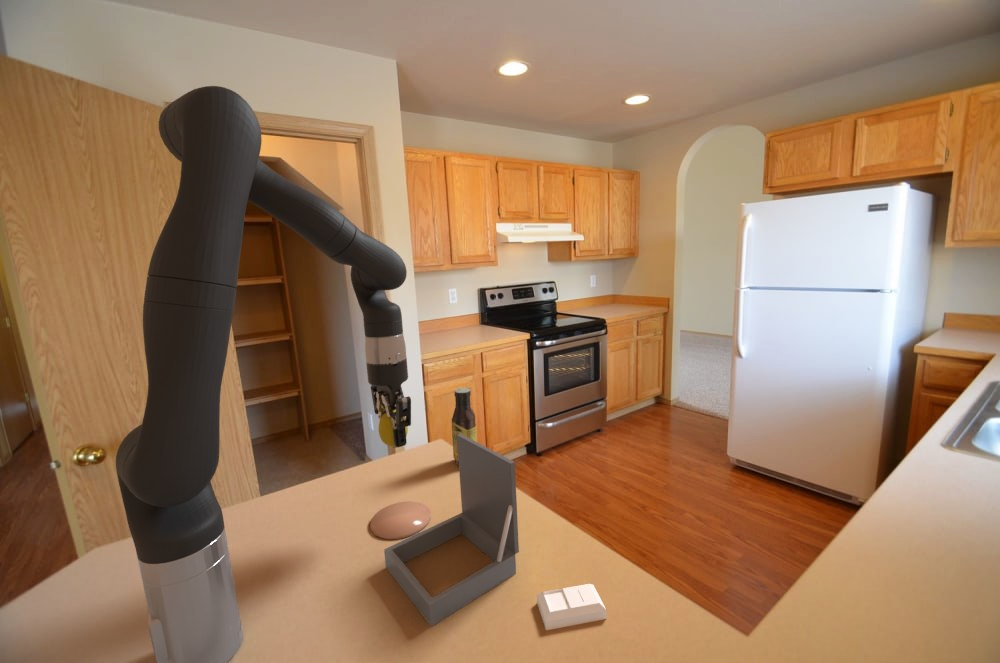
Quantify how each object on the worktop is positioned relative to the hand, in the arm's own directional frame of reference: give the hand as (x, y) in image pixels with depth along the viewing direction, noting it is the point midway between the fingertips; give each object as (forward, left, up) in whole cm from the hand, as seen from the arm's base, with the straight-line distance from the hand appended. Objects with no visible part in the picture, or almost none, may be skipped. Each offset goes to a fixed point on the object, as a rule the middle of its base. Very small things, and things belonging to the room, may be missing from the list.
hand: (394, 440), depth 84 cm
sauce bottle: (+24, +12, -18) cm, 32 cm away
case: (0, -19, -17) cm, 26 cm away
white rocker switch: (+9, -38, -18) cm, 43 cm away
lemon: (0, 0, -2) cm, 2 cm away
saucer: (0, 0, -17) cm, 17 cm away
